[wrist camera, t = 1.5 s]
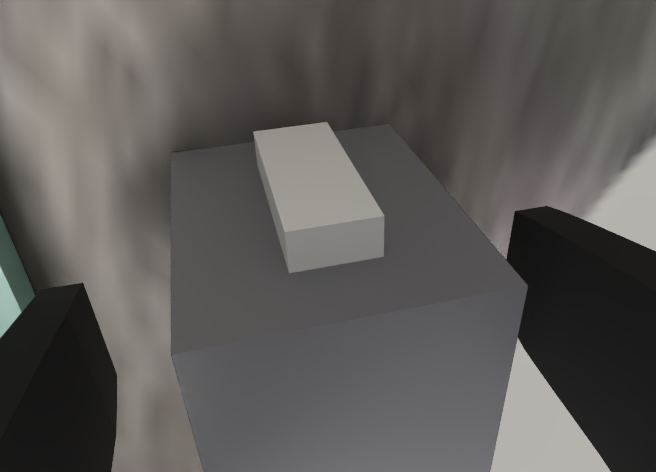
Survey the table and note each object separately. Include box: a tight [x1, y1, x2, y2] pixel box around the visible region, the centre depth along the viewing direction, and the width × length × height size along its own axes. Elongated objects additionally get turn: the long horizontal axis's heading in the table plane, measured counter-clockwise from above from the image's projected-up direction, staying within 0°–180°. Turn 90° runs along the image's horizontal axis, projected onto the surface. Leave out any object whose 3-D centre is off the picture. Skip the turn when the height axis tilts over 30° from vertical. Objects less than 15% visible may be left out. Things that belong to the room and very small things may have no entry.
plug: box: [171, 122, 528, 472], centre depth 9 cm, size 5×4×5 cm
